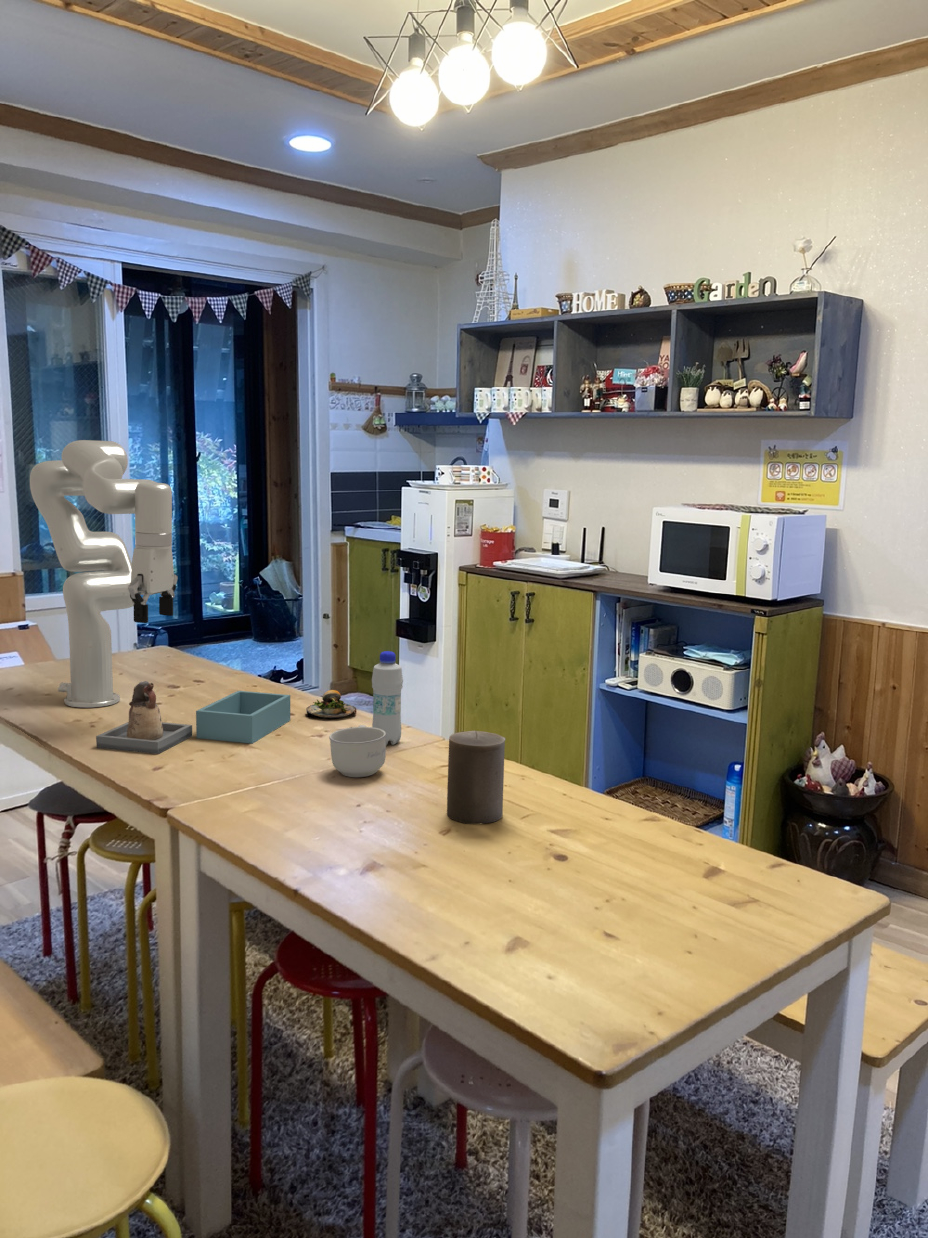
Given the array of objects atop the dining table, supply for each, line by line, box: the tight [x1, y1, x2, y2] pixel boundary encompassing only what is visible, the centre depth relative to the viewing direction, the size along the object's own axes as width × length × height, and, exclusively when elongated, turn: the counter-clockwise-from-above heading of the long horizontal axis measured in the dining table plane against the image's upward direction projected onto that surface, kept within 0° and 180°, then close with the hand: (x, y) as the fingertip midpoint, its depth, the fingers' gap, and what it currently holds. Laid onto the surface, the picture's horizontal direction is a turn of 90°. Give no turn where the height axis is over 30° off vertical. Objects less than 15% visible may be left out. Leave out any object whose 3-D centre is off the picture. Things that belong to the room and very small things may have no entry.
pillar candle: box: [446, 730, 506, 825], centre depth 171 cm, size 10×10×15 cm
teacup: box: [328, 724, 387, 778], centre depth 194 cm, size 14×11×8 cm
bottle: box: [371, 650, 404, 746], centre depth 212 cm, size 7×7×20 cm
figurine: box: [127, 680, 163, 740], centre depth 208 cm, size 7×7×12 cm
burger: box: [305, 685, 357, 718], centre depth 235 cm, size 12×12×8 cm
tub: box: [195, 690, 291, 744], centre depth 221 cm, size 13×20×6 cm, turn 166°
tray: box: [95, 721, 193, 755], centre depth 209 cm, size 14×14×2 cm
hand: (153, 618), depth 217 cm, fingers open, 9 cm apart
